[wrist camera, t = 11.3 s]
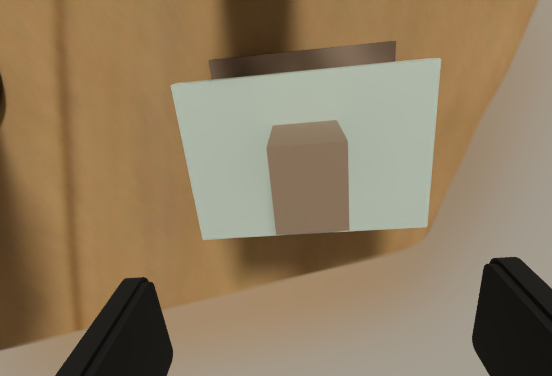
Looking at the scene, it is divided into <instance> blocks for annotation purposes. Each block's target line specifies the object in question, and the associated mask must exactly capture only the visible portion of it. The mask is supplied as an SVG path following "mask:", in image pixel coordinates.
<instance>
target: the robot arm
mask: <svg viewBox="0 0 552 376" xmlns="http://www.w3.org/2000/svg"><path fill="white" fill-rule="evenodd" d="M472 342H473V346H474V349H475V351H476V353H477V355H478V357H479V358H480V360H481V362H482V363H483V365H484V367H485V368H486V370H487V372H488V373H489V375H490V376H552V289H551V288H550V287H549V286H548V285H547V284H546V283H545V282H544V281H543V280H542V279H541V278H540V277H539V276H538V275H536V274H535V273H534V272H533V271H532V270H531V269H530V268H529V267H528V266H527V265H526V264H525V263H524V262H523V261H522V260H521V259H519V258H517V257H505V258H493V259H492V260H491V261H490V263H489V264H486V265H485V266H484V269H483V275H482V281H481V287H480V293H479V299H478V305H477V311H476V317H475V323H474V329H473V336H472ZM172 358H173V349H172V345H171V342H170V338H169V335H168V331H167V329H166V325H165V321H164V317H163V314H162V310H161V307H160V304H159V300H158V297H157V293H156V290H155V286H154V284H153V283H152V282H148V280H147V278H144V277H141V278H126V279H124V280H123V281H122V282H121V284H120V285H119V286H118V288H117V289H116V291H115V292H114V294H113V295H112V296H111V298H110V299H109V301H108V302H107V303H106V305H105V306H104V308H103V309H102V310H101V312H100V313H99V315H98V316H97V317H96V319H95V320H94V322H93V323H92V325H91V326H90V327H89V329H88V330H87V332H86V333H85V335H84V336H83V337H82V339H81V340H80V341H79V343H78V344H77V346H76V347H75V349H74V350H73V351H72V353H71V354H70V356H69V357H68V358H67V360H66V361H65V363H64V364H63V365H62V367H61V368H60V370H59V371H58V372H57V374H56V375H55V376H167V373H168V370H169V368H170V365H171V362H172Z"/></svg>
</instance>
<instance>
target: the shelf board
mask: <svg viewBox="0 0 552 376" xmlns="http://www.w3.org/2000/svg"><path fill="white" fill-rule="evenodd" d="M440 66H441V59H439V58H428V59H417V60H407V61H397V62H387V63H377V64H367V65H356V66H346V67H336V68H326V69H316V70H306V71H295V72H285V73H275V74H265V75H255V76H245V77H235V78H224V79H214V80H204V81H194V82H184V83H176V84H173V85H171V90H172V94H173V99H174V104H175V109H176V114H177V118H178V123H179V128H180V133H181V138H182V142H183V147H184V152H185V157H186V162H187V166H188V171H189V176H190V181H191V186H192V190H193V195H194V200H195V205H196V210H197V215H198V219H199V224H200V229H201V234H202V239H203V240H207V239H225V238H242V237H260V236H278V235H295V234H313V233H330V232H348V231H366V230H383V229H401V228H419V227H427V223H428V211H429V198H430V186H431V174H432V162H433V150H434V138H435V126H436V114H437V102H438V90H439V78H440Z"/></svg>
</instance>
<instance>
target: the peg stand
mask: <svg viewBox="0 0 552 376" xmlns="http://www.w3.org/2000/svg"><path fill="white" fill-rule="evenodd" d="M395 49H396V41H389V42H380V43H370V44H360V45H351V46H341V47H331V48H322V49H312V50H302V51H292V52H283V53H273V54H263V55H254V56H244V57H234V58H225V59H215V60H209V65H210V72H211V78H212V80H214V79H224V78H235V77H245V76H255V75H265V74H275V73H285V72H295V71H306V70H316V69H326V68H336V67H346V66H356V65H367V64H377V63H387V62H395Z"/></svg>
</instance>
